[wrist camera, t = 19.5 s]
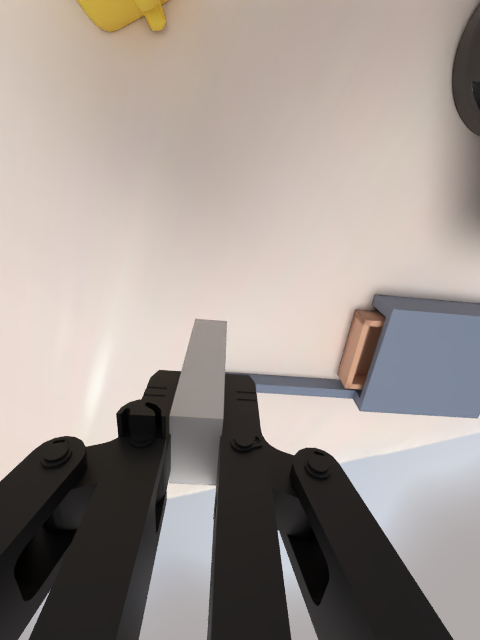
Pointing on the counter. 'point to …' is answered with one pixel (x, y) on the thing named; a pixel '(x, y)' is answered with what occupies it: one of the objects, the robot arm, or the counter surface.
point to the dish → (360, 348)
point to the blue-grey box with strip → (410, 362)
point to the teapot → (124, 13)
